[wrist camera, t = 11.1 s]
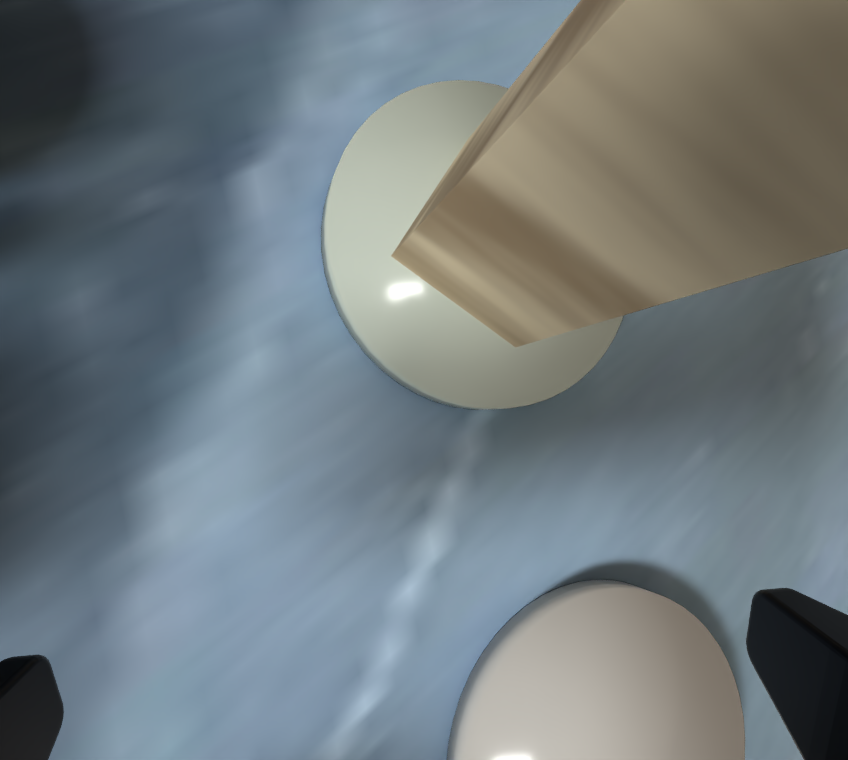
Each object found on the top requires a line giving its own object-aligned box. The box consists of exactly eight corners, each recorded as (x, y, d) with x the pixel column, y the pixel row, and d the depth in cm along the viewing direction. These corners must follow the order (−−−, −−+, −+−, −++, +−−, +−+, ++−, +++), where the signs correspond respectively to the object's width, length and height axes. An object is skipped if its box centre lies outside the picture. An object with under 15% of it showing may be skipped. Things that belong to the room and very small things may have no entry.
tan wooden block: (515, 347, 18) (1086, 177, 6) (390, 256, 17) (786, -176, 5) (580, 230, 20) (1160, -103, 7) (468, 138, 18) (935, -436, 6)
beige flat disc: (686, 929, 20) (713, 959, 19) (403, 913, 17) (416, 948, 16) (739, 613, 22) (767, 623, 21) (496, 547, 19) (513, 554, 18)
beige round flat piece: (573, 449, 20) (593, 450, 19) (273, 346, 17) (276, 339, 16) (636, 181, 22) (658, 167, 21) (378, 44, 19) (388, 19, 18)
